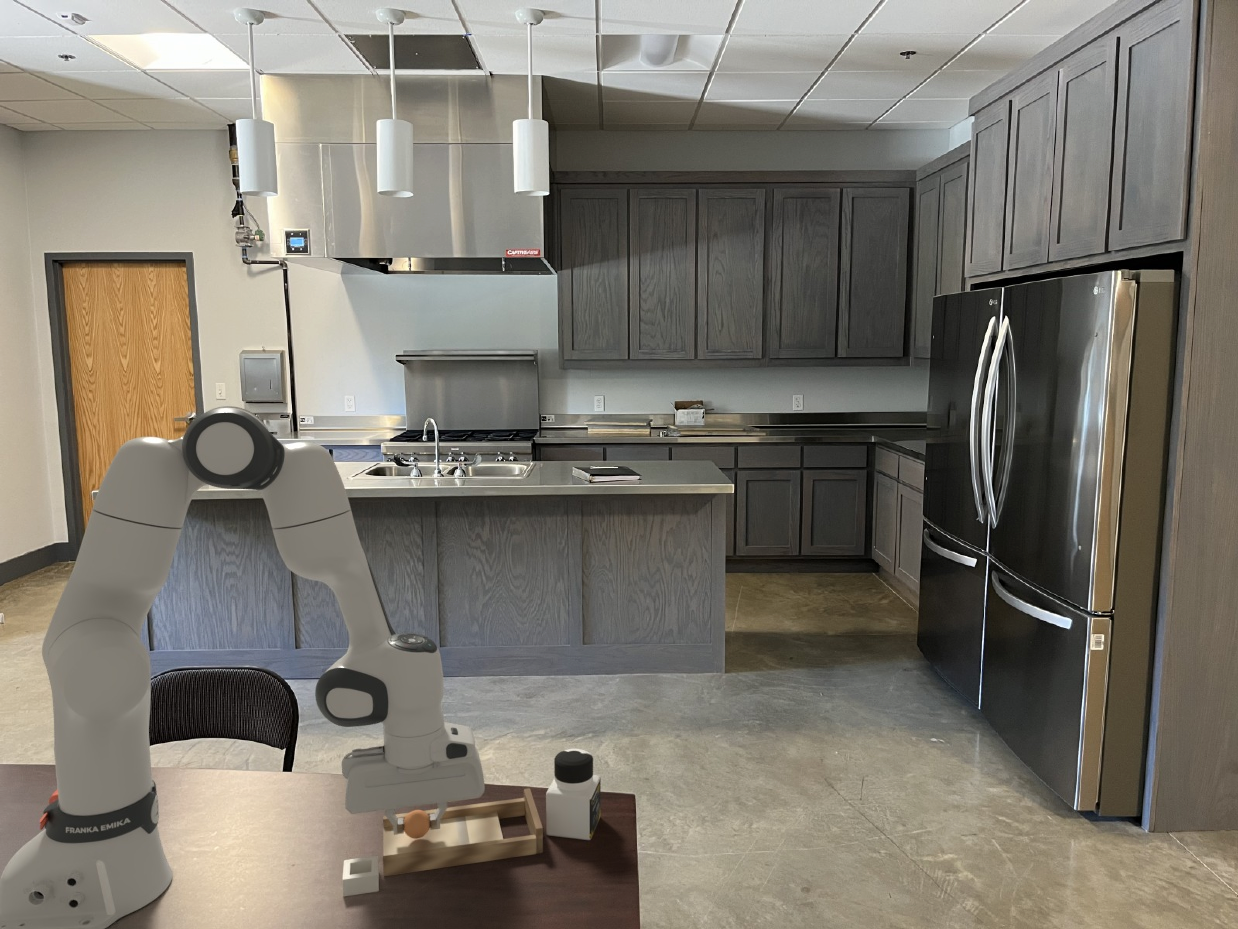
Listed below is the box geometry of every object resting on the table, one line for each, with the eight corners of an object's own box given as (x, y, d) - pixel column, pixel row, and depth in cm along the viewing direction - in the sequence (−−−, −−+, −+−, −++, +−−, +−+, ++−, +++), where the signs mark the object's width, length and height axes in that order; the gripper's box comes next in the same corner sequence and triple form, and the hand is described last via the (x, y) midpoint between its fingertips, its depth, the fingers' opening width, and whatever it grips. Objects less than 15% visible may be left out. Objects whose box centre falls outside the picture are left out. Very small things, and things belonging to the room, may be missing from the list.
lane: (383, 876, 124) (382, 850, 124) (383, 831, 136) (382, 807, 135) (542, 853, 130) (542, 828, 130) (530, 811, 142) (529, 788, 141)
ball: (403, 846, 129) (402, 821, 128) (403, 831, 133) (402, 806, 132) (431, 842, 130) (430, 817, 129) (430, 827, 134) (429, 803, 133)
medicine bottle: (590, 841, 133) (590, 767, 132) (545, 836, 135) (545, 762, 133) (600, 816, 140) (601, 746, 139) (558, 812, 142) (557, 742, 140)
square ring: (343, 896, 120) (342, 880, 119) (344, 876, 124) (343, 860, 124) (378, 891, 121) (378, 874, 121) (378, 871, 125) (378, 855, 125)
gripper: (340, 761, 123) (343, 851, 125) (485, 744, 129) (486, 832, 130) (342, 741, 129) (345, 828, 131) (480, 726, 135) (482, 810, 136)
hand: (417, 830), depth 131 cm, fingers closed on ball, 4 cm apart
